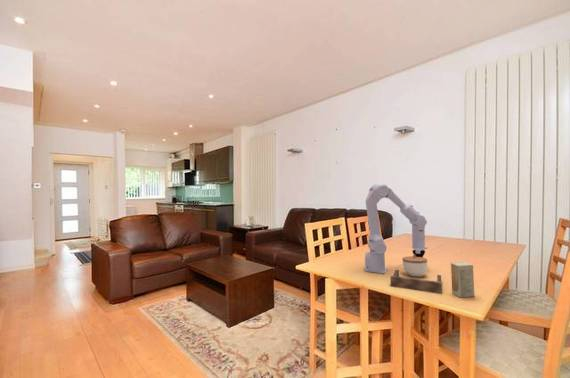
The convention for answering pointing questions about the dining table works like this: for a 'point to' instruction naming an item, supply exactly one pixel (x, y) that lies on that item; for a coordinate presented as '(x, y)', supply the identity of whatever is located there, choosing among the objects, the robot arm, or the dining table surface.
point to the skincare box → (462, 279)
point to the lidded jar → (415, 265)
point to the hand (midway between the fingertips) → (419, 264)
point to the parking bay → (416, 283)
